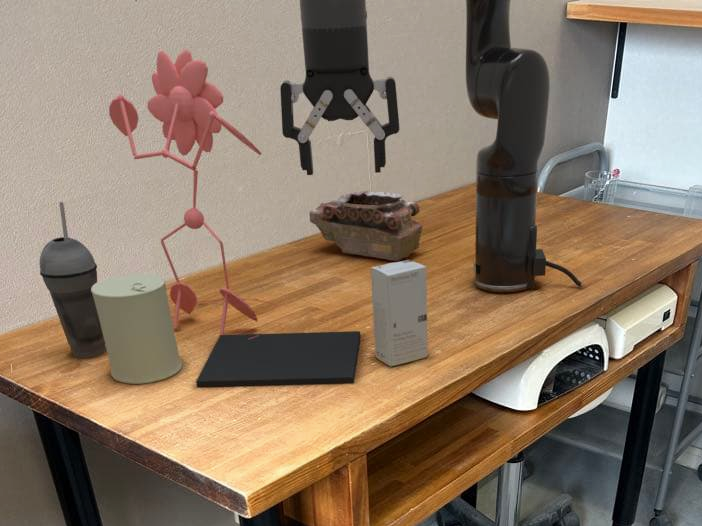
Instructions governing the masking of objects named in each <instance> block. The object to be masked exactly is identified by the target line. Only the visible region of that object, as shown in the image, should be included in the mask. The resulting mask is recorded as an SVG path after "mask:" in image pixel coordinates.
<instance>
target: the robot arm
mask: <svg viewBox="0 0 702 526" xmlns="http://www.w3.org/2000/svg"><path fill="white" fill-rule="evenodd" d="M366 6H367V2H366V0H299V10H300V23H301V33H302V35H301V36H302V45H303V47H302V48H303V57H304V68H305V70H304V71H305V78H304V81H303V82H291V81H290V80H287V79H286V80H284V81H283V82H282V83H281V85H280V87H279V88H280V89H279V90H280V109H281V110H280V111H281V128H282V129H281V131H282V136H283V137H284V138H286V139H292V140H294V141H296V142H297V144H298V150H299V151H298V152H299V161H300V162H299V163H300V168H301V170H302V171H306V176H313V175H314V163H313V161H314V159H313V153H312V152H313V150H312V140H310V137H311V135H312V134H313V132H314V130H315V128H316V126H317V125H318V124H319V122H320V120H321V118H322V119H323V120H325V121H327V122H335V121H337V120H342V121H343V120H344V121H354V120H355V119H357V118H360V120H361V121H362V122H363V123H364V124H365V126H366V127H367V128H368V129H369V130H370V132H371V133H372V135H373V136H374V138H373V156H374V158H373V159H374V173H375V174H377V173H378V174H379V173H382V171H381V169H382V168H385V166H386V164H387V160H386V159H387V157H386V140H387V138H388V137H390V136H392V135H396V134H398V133H399V131H400V118H399V107H398V96H397V85H396V79H395V78H394V76H387V78H381V79H373V78H372V77H371V74H370V63H369V62H370V61H369V42H368V41H369V40H368V25H367V24H368V23H367V22H368V21H367V20H368V12H367V11H368V10H367V7H366ZM465 6H466V7H465V9H466V10H465V12H466V14H465V16H466V18H465V19H466V20H465V21H466V22H465V23H466V26H465V29H466V30H465V31H466V32H465V88H466V94H467V98H468V100H469V104H470V106H471V107H472V109H473V111H475V113H477V114H478V115H479V116H481V117H483V118H487V119H492V120H497V125H496V133H495V139H494V141H493V142H492V143H491V144H488V145H486V146H484V147H481V148H480V149H479V150H478V152H477V154H476V167H475V170H476V171H475V173H476V174H475V244H474V245H475V248H474V251H475V252H474V259H473V260H472V261H473V266H472V267H473V272H474V283H473V284H474V286H475V287H476V288H478V289H480V290H482V291H485V292H490V293H499V294H501V293H503V294H504V293H505V294H507V293H508V294H509V293H517V292H521V291H525V290H534V289H535V280H536V279H535V278H536V277H543V276H546V271H547V268H546V267H549V268H552V269H554V270H557V271H559V272H561V273H563V274H565V275H566V276H568V277H569V279H571V280H572V282H573V283H574V284H575V285H576V286H577V287H582V281H580V280H579V278H578V277H576V276H575V274H574V273H572V271H570V270H569V269H567V268H566V267H563V266H562V265H559V264H557V263H553V262H550V261H548V260H547V257H546V254H545V252H544V249H543V248H537V239H538V227H537V226H538V225H537V223H536V218H537V217H536V215H537V200H538V199H537V197H538V177H539V162H540V158H541V155H542V152H543V150H544V146H545V141H546V133H547V123H548V114H549V113H548V112H549V105H550V90H551V80H550V71H549V67H548V64H547V61H546V59H545V58H544V56H543V55H542V54H541V53H540V52H539V51H536V50H534V49H529V48H521V47H512V43H511V29H510V28H511V27H510V11H511V0H465ZM374 91H377V92H378V94H379V97H380V98H381V99H383V100H386V105H387V115H388V122H386V123H384V124H381V122H380V120H379V119H378V118H377V117H376V116H375V114H374V112H372V110H371V109H370V107H369V105H368V104H367V103H368V101H369V100H370V98H371V96H372V94H373V93H374ZM301 94H303V95H304V96H305V97H306V99H307V100H308V101H309V103H310V104H311V105H312V107H313V108H312V110H311V111H310V113H309V115H308V117H307V118H306V119H305V122H304V124H303V125H302V127H298V126H295V121H294V104H296V103H297V102H298V100H299V97H300V95H301Z"/></svg>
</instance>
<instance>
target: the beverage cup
mask: <svg viewBox="0 0 702 526" xmlns="http://www.w3.org/2000/svg"><path fill="white" fill-rule="evenodd" d="M64 203H65V202H63V201H59V211H60V218H61V219H60V220H61V227H62V233H63V236H61V237H56V238H53V239H51V240H50V241H48V242H46V244H45V245H44V247H43V248H42V250H41V252H40V256H39V270H40V271H39V275H40V276H41V277H42V281H43V283H44V284H45V287H46V289H47V290H48V292H49V294H50V297H51V300H52V303H53V305H54V309H55V311H56V313H57V316H58V318H59V322H60V324H61V327H62V329H63V330H62V331H63V333H64V335H65V338H66V341H67V343H68V346H69V348H70V350H71V353H72V355H73V357H76V358H80V359H88V358H94V357H98V356H102V355H104V353H105V352H107V349H106V345H105V340H104V336H103V332H102V328H101V324H100V320H99V316H98V313H97V309H96V305H95V301H94V297H93V294H92V292H91V288H92V286H93V285H94V284H95V283H97V282H98V271H97V268H98V265H97V263H96V262H95V261H96V260H95V259H94V256H93V254H92V253H91V251H90V250H89V249H88V248H87V246H86V245H84V244H83V243H82V242H80V241H79V240H77V239H75V238H72V237H69V235H68V234H69V233H68V228H67V227H68V226H67V219H66V212H65V204H64Z"/></svg>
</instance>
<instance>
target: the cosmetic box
mask: <svg viewBox="0 0 702 526" xmlns="http://www.w3.org/2000/svg"><path fill="white" fill-rule="evenodd" d="M370 277H371V278H370V279H371V300H372V318H373V337H374V356H375V358H376V359H377V360H379V361H380V362H382V363H383V364H385V365H387V366H388V367H394V366H399V365H402V364H406V363H411V362H414V361H418V360H422V359H425V358H427V357H428V355H429V352H428V351H429V350H428V349H429V347H428V345H429V344H428V300H427V299H428V297H427V296H428V295H427V266H426V265H423V264H422V263H418V262H416V261H414V260H411V259H406V260H402V261H401V260H400V261H393V262H389V263H385V264H382V265H377V266H372V267H371V268H370Z"/></svg>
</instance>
